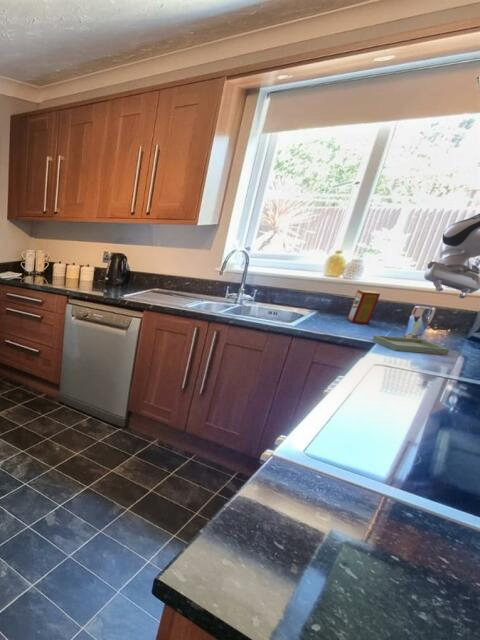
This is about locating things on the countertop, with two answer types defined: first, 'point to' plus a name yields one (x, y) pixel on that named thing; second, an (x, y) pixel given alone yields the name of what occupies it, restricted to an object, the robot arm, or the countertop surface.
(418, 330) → the beer glass
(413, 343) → the tray
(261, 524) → the countertop surface
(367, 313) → the baking soda box
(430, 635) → the countertop surface
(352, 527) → the countertop surface
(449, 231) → the robot arm
